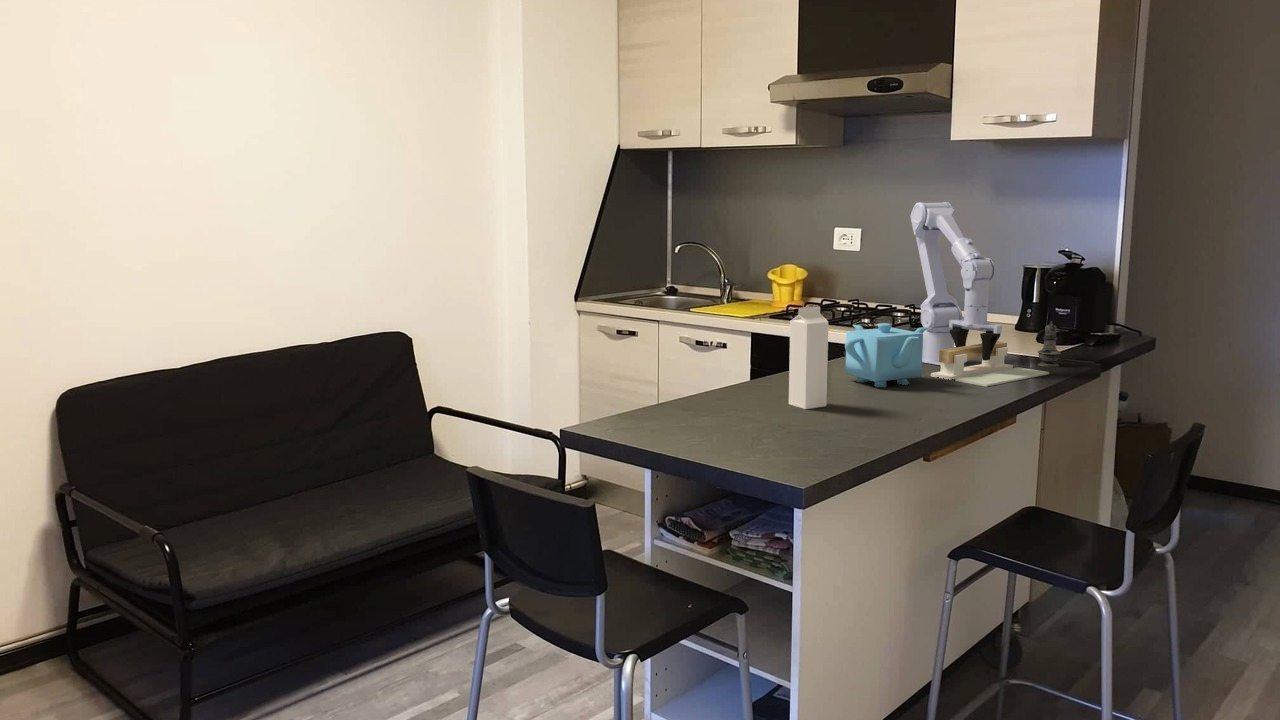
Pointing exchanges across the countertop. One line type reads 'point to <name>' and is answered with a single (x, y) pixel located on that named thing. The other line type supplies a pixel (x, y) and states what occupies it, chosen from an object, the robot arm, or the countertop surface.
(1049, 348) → the grey chess piece
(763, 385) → the countertop surface
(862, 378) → the teakettle
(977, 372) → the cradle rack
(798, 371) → the milk
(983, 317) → the robot arm
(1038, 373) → the sage mat
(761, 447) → the countertop surface
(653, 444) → the countertop surface
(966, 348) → the oak bar
